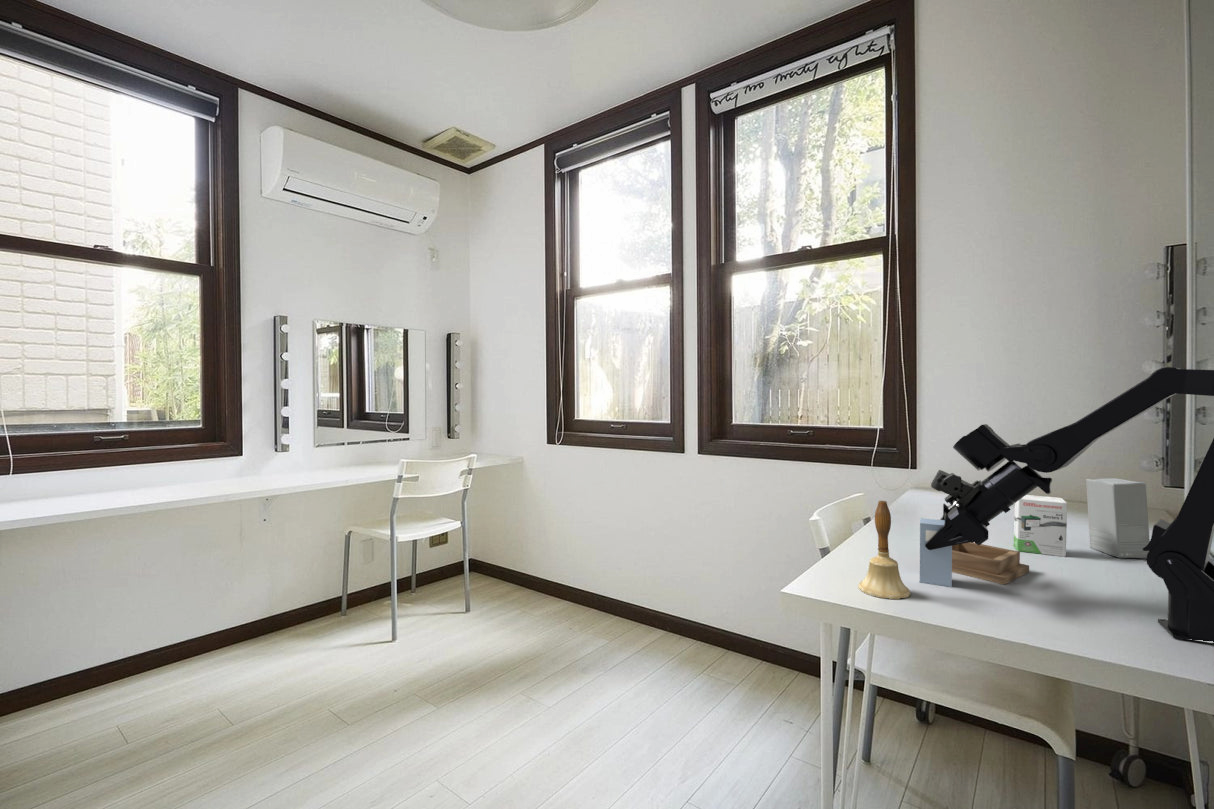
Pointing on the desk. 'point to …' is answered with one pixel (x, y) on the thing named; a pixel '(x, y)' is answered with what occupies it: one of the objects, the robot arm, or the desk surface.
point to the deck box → (934, 556)
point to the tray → (987, 562)
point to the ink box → (1040, 525)
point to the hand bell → (883, 563)
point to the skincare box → (1118, 517)
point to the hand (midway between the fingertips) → (926, 544)
